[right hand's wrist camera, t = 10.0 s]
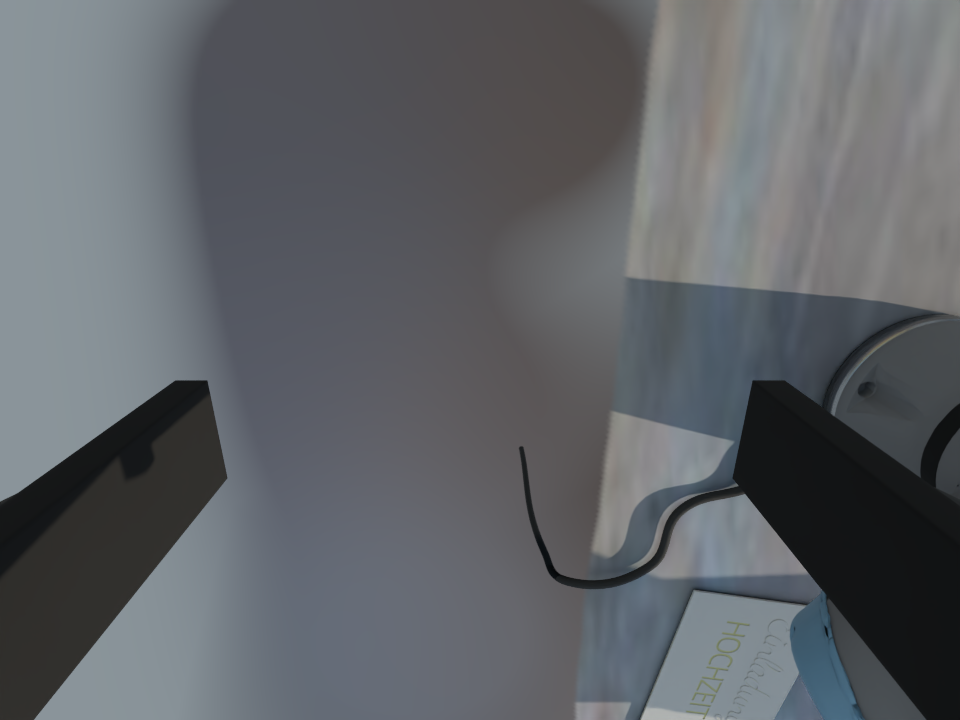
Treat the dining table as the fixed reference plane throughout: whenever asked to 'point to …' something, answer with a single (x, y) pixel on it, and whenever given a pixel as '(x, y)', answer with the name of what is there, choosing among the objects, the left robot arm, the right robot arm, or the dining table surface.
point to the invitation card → (726, 661)
